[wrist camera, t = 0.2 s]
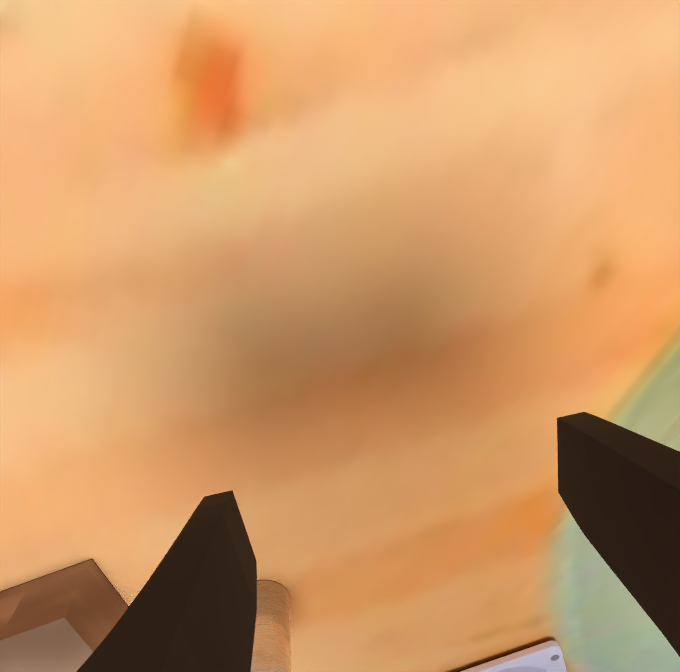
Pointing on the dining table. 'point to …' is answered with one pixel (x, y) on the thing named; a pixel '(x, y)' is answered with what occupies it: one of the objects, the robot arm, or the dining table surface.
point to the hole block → (57, 620)
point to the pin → (272, 629)
